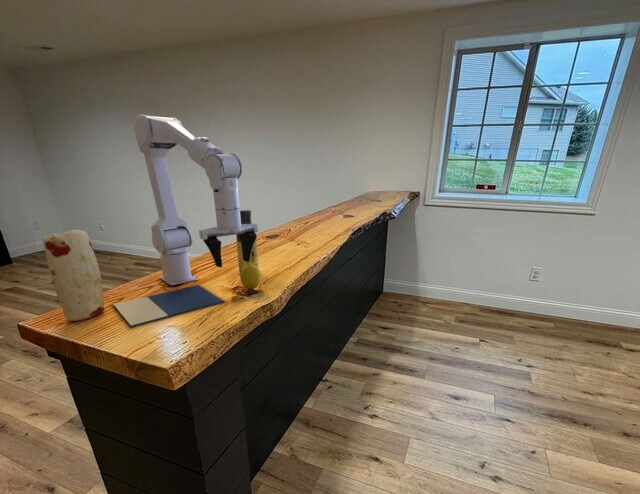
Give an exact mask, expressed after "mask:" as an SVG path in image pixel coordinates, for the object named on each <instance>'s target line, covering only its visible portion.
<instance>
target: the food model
mask: <svg viewBox="0 0 640 494" xmlns="http://www.w3.org/2000/svg"><path fill="white" fill-rule="evenodd" d="M42 243H43V248H44V253H45V258H46V262H47V266H48V270H49V274H50V278H51V281H52V284H53V287H54V290H55V294H56V296H57V299H58V301H59V303H60V307H61V309H62V312H63V315H64V317H65V319H66V321H69V322H71V321H75V322H77V321H82V320H86V319H88V318H91V317H94V316H97V315H99V314H101V313H103V312H104V311H105V300H104V299H105V298H104V290H103V289H104V288H103V281H102V276H101V271H100V267H99V263H98V260H97V256H96V253H95V251H94V247H93V245H92V242H91V238H90V237H89V234H88V233H87V231H86V230H82V229H72V230H67V231H64V232H63V231H62V232H60V233H57V232H52V233H50V234H48V235H45V236H44V237H43V239H42Z"/></svg>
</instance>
